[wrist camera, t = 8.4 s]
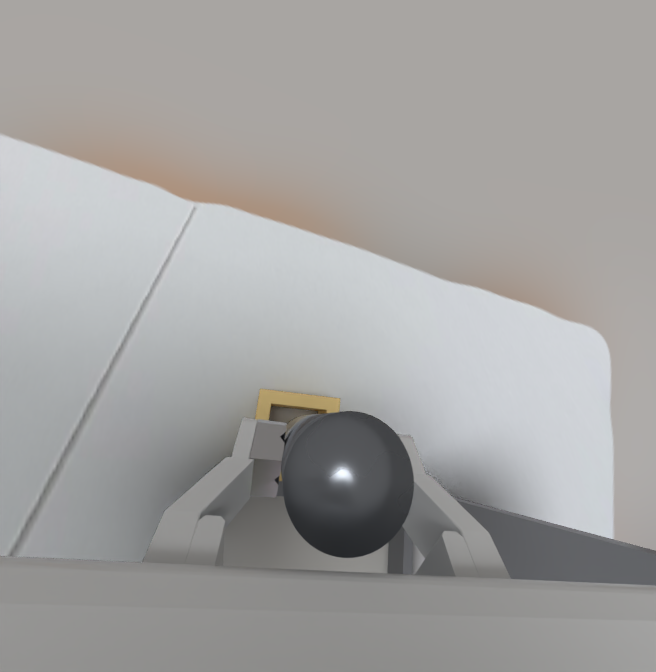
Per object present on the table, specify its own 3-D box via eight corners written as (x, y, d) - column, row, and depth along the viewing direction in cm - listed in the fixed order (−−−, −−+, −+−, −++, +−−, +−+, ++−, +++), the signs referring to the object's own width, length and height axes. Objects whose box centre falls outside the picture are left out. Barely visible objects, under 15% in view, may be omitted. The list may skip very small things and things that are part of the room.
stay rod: (274, 471, 16) (272, 554, 6) (283, 412, 17) (293, 404, 7) (331, 476, 16) (412, 561, 7) (336, 418, 17) (415, 418, 7)
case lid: (996, 1159, 8) (977, 1111, 8) (831, 602, 11) (825, 595, 12) (435, 695, 20) (443, 689, 20) (436, 494, 23) (443, 494, 24)
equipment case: (184, 635, 23) (157, 701, 17) (217, 464, 26) (203, 476, 21) (397, 637, 25) (430, 697, 20) (402, 480, 28) (432, 494, 23)
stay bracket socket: (250, 467, 26) (245, 478, 22) (262, 393, 28) (260, 388, 23) (322, 473, 27) (332, 485, 23) (329, 401, 29) (340, 398, 24)
